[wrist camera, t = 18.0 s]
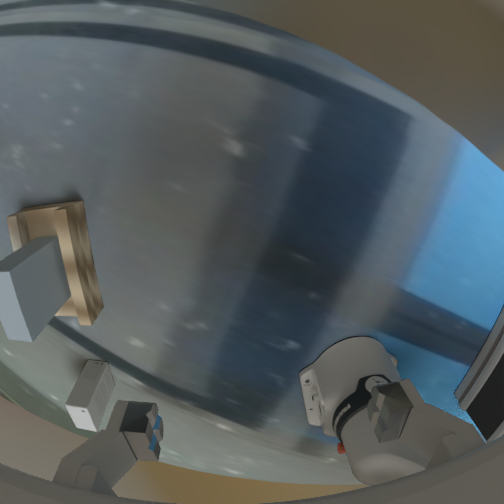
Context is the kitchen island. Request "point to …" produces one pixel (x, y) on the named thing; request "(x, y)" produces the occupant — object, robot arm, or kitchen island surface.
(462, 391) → the toaster
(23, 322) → the box
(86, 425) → the skincare box
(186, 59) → the kitchen island surface
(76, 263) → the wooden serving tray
